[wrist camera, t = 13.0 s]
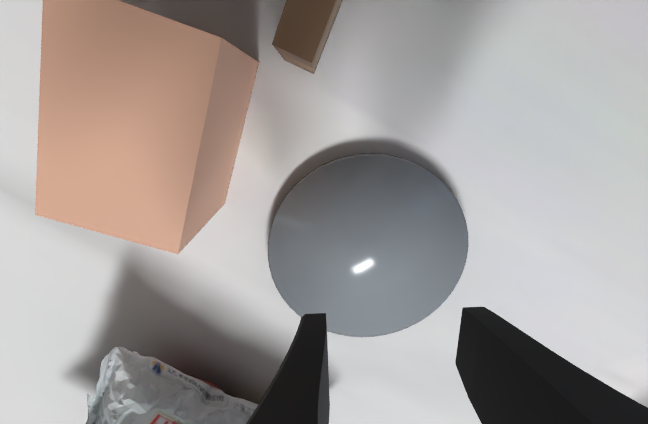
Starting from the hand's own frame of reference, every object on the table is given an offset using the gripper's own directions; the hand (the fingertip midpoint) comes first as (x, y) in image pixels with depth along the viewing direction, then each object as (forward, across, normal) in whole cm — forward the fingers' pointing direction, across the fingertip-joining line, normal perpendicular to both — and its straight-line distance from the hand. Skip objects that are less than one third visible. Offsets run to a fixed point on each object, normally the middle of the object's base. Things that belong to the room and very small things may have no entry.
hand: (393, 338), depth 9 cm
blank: (+6, +7, -6) cm, 11 cm away
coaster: (+6, 0, 0) cm, 6 cm away
